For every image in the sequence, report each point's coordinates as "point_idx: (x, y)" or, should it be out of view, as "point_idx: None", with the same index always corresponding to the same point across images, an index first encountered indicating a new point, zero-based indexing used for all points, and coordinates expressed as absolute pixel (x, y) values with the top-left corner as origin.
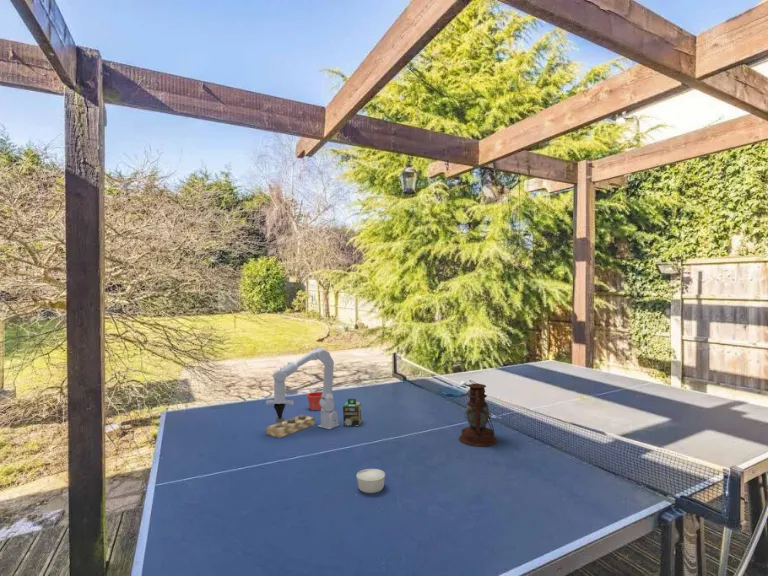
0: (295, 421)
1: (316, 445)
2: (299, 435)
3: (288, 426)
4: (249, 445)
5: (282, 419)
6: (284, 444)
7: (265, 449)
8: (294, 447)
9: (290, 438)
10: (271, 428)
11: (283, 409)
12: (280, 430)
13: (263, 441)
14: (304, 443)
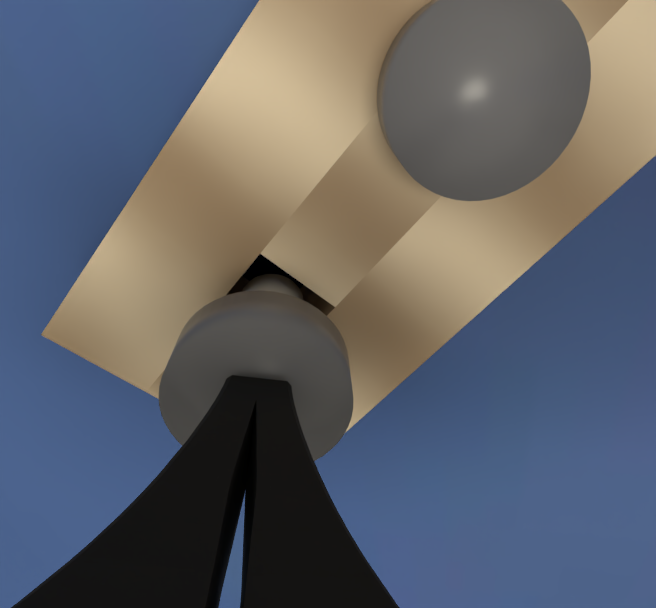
0: None
1: (643, 570)
2: (533, 352)
3: (416, 349)
4: (58, 540)
5: (324, 446)
6: (379, 541)
7: (239, 604)
8: (465, 589)
9: (427, 425)
10: (155, 392)
11: (346, 552)
12: None
13: (153, 473)
14: (555, 534)
